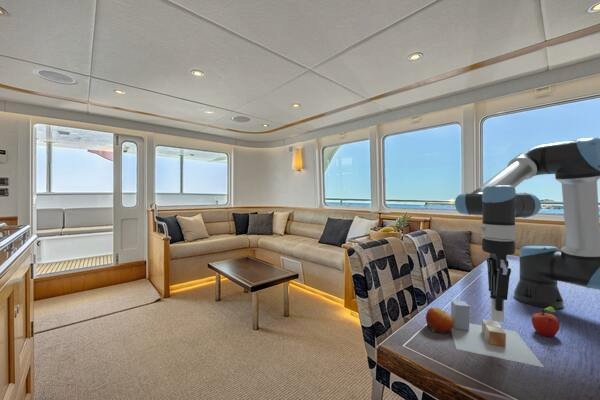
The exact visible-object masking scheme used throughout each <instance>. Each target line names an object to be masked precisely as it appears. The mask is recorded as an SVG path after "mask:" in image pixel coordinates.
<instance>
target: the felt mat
mask: <svg viewBox="0 0 600 400" xmlns="http://www.w3.org/2000/svg"><path fill="white" fill-rule="evenodd" d="M502 329H503V328H502ZM503 330H504V332H505V333H506V348H505V347H500V346H495V345H490V344H488V342H487V340H486V338H485V336H484V335H483V333H482V324H475V323H471V322H469V331H467V330H458V329H455V328H454V327H452V329H451V330H450V332H451V335H452V339H453V342H454V345H455V349H456V350H459V351H464V352H468V353H472V354H477V355H478V354H479V355H483V356H487V357H493V358H495V359H496V358H497V359H502V360H507V361H511V362H515V363H521V364H526V365H530V366H535V367H540V368H545V366H544V365H543V364H542V363H541V361H540V360H539V359H538V357H537V356H536V355H535V353H534V352H533V351H532V350H531V349H530V348H529V345H527V343H526V342H525V341H524V340H523V338H522V337H521V336H520V335H519V334H518V332H517V331H515V330H509V329H506V328H505V329H503Z"/></svg>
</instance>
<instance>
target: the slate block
mask: <svg viewBox="0 0 600 400" xmlns="http://www.w3.org/2000/svg"><path fill="white" fill-rule="evenodd" d="M450 307H451V308H450V309H451V311H450V316H451V317H452V319H453V321H454V325H453V327H454V328H455V329H458V330H467V331H469V323H470V305H469V304H468V303H467V302H466V301H464V300H463V301H462V300H455V299H454V300H453V299H452V300H450Z"/></svg>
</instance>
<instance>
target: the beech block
mask: <svg viewBox="0 0 600 400" xmlns="http://www.w3.org/2000/svg"><path fill="white" fill-rule="evenodd" d="M481 325H482V333H483V335H484V336H485V338H486V340H487V342H488V344H490V345H495V346H500V347H505V348H506V333H505V332H504V330H503V328H502V327H503V326H501V324H500V323H499V321H493V320H492V319H491V320H490V319H484V318H481Z"/></svg>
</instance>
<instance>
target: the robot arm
mask: <svg viewBox="0 0 600 400" xmlns="http://www.w3.org/2000/svg"><path fill="white" fill-rule="evenodd" d="M543 175H554V176H555V177H554V178H555V180H556V181H557V182H559V183H561V193H562V194H561V195H562V205H563V219H564V221H563V222H564V232H565V246H563V247H561V248H560V251H559V248H558V247H557V246H553V245H552V246H551V245H525V246H522V247H521V248H520V249H519V255H518V258H519V279H518V281H517V283H516V286H515V289H514V291H513V297H514V299H515V300H516V299H517V300H518V301H520V302H522V303H525V304H528V305H532V306H536V307H541V308H547V307H553V308H554V309H562V308H564V298H563V297H562V294H561V292H560V289H559V286H558V282H561V283H566V284H570V285H574V286H579V287H583V288H586V289H594V290H598V291H600V209H599V206H600V205H599V193H598V190H599V189H598V181H599V180H600V138H599V137H588V138H578V139H571V140H567V141H559V142H554V143H546V144H541V145H538V146H537V145H536V146H535V147H532V148H530V149H528V150H526V151H524V152H521V153H519V154H518V155H516V156H515V157H513V158H512V159H511V160H509V162H508V163H507V166H506V167H504V168H503V169H502V170H500V171H499V172H498V173H496V174H495V175H494V176H492V177H491V178H489V179H488V180H487V181H486V182H484V183H483V184H481V185H480V186H479V187H477V188H476V189H475V190H473V191H472V192H470V193H467V192H466V193H461V194H458V195H457V196H456V197H455V200H454V206H455V209H456V211H457V212H458V213H459V214H462V215H469V216H482V226H480V227H479V230H480V231H481V233H482V234H481V235H482V237H483V238H482V239H481V250H482V252H485V253H488V254H489V257H487V258H486V266H487V278H488V279H487V281H488V291H489V293H490V295H489V297H490V319H491V321H497V322H498V323H499V322H500V323H504V322H505V301H508V295H509V285H510V278H511V277H510V276H511V273H512V269H511V268H510V267H509V260H508V259H507V256H510V255H511V256H512V255H514V254H515V253H516V242H515V241H514V240H515V239H516V218H517V219H518V218H523V219H527V218H530V217H534V216H536V215H537V214H538V213H539V212H540V211H541V207H542V203H541V200H540V198H538V197H537V196H536V195H535V194H532V193H529V192H516V188H517V186H519V185H520V184H521V183H523V182H524V181H526V180H530V179H532V178H533V177H535V176H536V177H537V176H543Z"/></svg>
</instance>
